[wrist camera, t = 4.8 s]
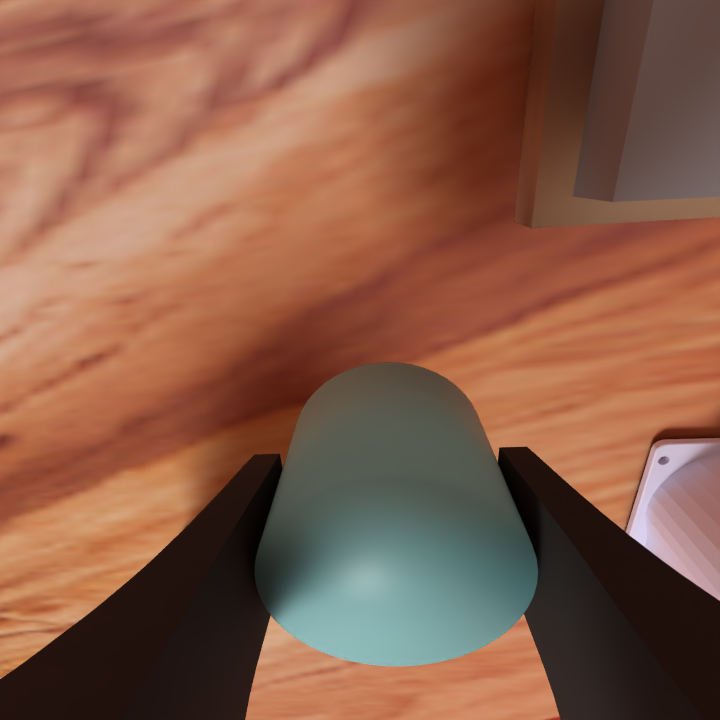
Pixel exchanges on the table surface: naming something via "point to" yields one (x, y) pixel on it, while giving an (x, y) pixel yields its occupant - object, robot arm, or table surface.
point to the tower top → (653, 103)
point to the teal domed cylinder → (393, 524)
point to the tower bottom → (572, 127)
